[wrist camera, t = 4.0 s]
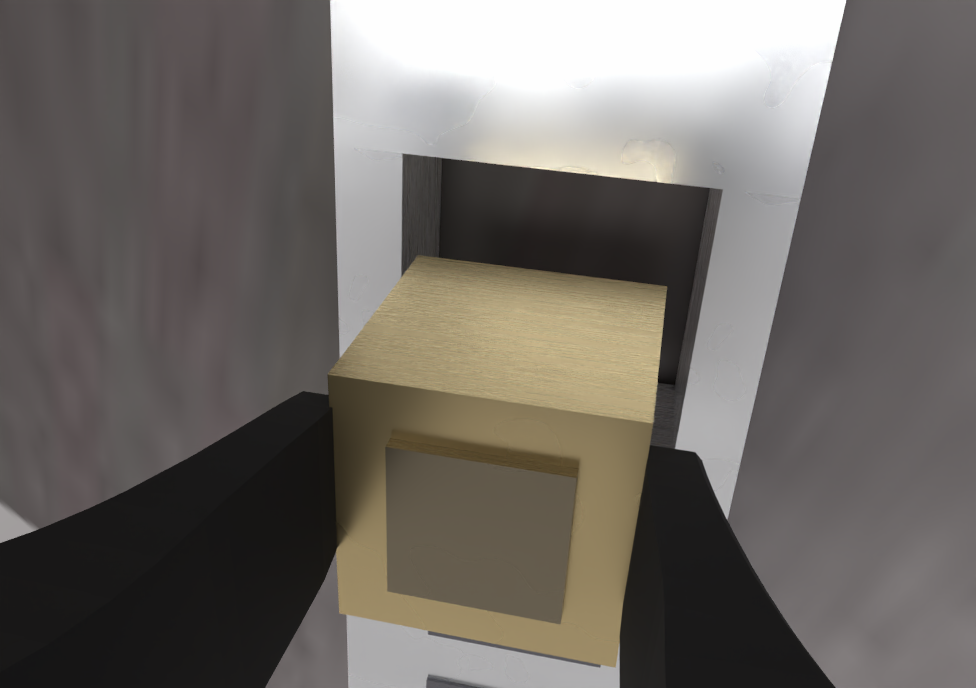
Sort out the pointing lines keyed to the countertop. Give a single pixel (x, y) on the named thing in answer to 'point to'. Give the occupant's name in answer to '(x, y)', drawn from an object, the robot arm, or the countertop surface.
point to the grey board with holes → (587, 150)
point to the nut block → (496, 454)
